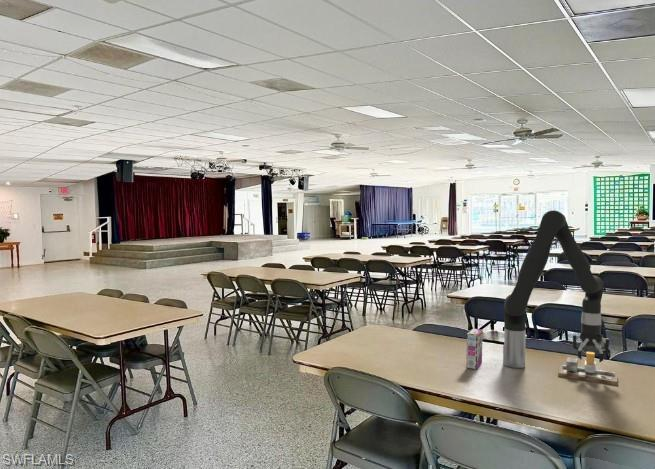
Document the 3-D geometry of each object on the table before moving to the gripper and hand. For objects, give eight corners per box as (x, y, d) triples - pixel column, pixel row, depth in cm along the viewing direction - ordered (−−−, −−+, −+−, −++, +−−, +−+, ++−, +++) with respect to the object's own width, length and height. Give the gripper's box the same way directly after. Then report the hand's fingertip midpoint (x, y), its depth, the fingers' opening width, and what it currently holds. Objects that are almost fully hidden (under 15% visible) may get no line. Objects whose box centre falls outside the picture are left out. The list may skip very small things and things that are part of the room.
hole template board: (558, 376, 206) (558, 361, 205) (560, 369, 214) (560, 355, 214) (617, 385, 195) (617, 369, 194) (616, 377, 203) (617, 363, 203)
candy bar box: (477, 370, 214) (477, 334, 213) (466, 368, 217) (466, 333, 216) (482, 363, 224) (483, 329, 223) (472, 361, 226) (472, 328, 226)
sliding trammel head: (584, 373, 202) (584, 354, 202) (585, 369, 208) (585, 350, 207) (595, 375, 200) (595, 355, 200) (595, 371, 206) (596, 351, 205)
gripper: (610, 322, 202) (609, 360, 203) (572, 318, 210) (572, 355, 210) (610, 326, 196) (609, 365, 197) (571, 322, 203) (571, 360, 204)
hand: (590, 360), depth 204 cm, fingers open, 7 cm apart
